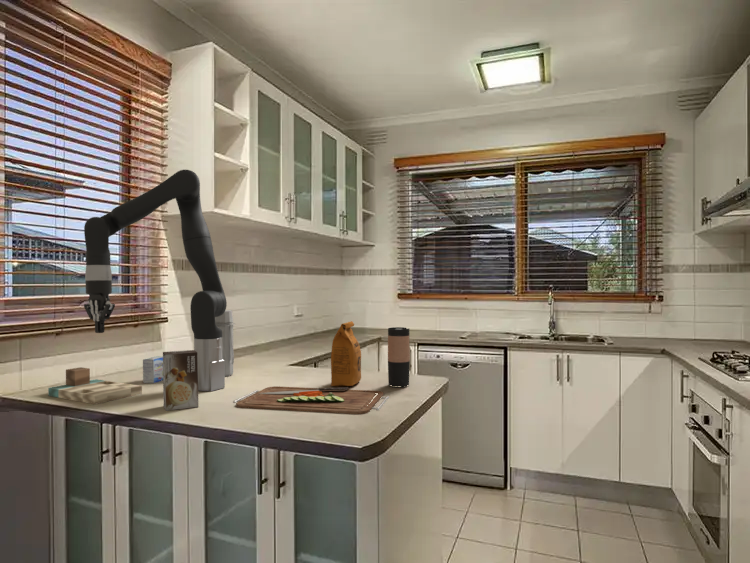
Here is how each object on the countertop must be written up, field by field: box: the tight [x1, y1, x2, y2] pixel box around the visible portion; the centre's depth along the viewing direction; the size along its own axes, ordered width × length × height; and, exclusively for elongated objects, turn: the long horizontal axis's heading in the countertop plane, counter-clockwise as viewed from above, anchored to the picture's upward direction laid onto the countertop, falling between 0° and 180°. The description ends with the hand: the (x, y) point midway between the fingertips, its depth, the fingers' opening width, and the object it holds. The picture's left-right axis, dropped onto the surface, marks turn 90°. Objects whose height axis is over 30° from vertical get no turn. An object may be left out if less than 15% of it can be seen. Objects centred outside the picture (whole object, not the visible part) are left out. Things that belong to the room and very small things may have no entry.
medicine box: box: [142, 355, 163, 384], centre depth 187 cm, size 8×4×9 cm, turn 168°
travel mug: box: [387, 326, 411, 386], centre depth 179 cm, size 8×8×20 cm
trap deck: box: [47, 378, 143, 405], centre depth 165 cm, size 24×16×2 cm, turn 62°
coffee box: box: [162, 349, 200, 412], centre depth 149 cm, size 9×6×16 cm
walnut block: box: [65, 367, 91, 386], centre depth 170 cm, size 5×5×5 cm
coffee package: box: [330, 320, 362, 387], centre depth 181 cm, size 10×12×22 cm
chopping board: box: [232, 385, 390, 415], centre depth 157 cm, size 45×27×3 cm, turn 78°
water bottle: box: [215, 309, 236, 378], centre depth 198 cm, size 9×8×25 cm
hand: (99, 332), depth 166 cm, fingers closed
